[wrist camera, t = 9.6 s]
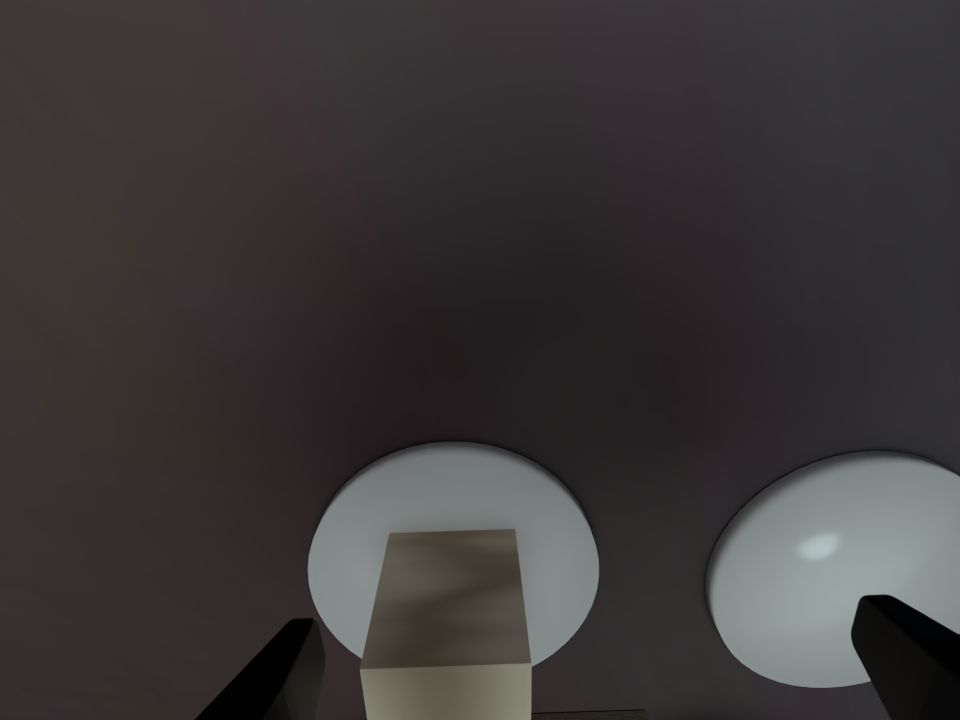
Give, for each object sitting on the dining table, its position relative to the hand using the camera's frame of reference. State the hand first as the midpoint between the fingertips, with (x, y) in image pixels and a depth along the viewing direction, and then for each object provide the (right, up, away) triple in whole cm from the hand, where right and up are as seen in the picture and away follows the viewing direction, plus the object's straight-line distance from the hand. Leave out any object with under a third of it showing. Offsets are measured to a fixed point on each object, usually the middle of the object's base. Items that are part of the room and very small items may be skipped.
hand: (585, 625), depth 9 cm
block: (-3, -5, +13) cm, 14 cm away
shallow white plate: (+14, -5, +15) cm, 21 cm away
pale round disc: (-3, -4, +14) cm, 15 cm away
